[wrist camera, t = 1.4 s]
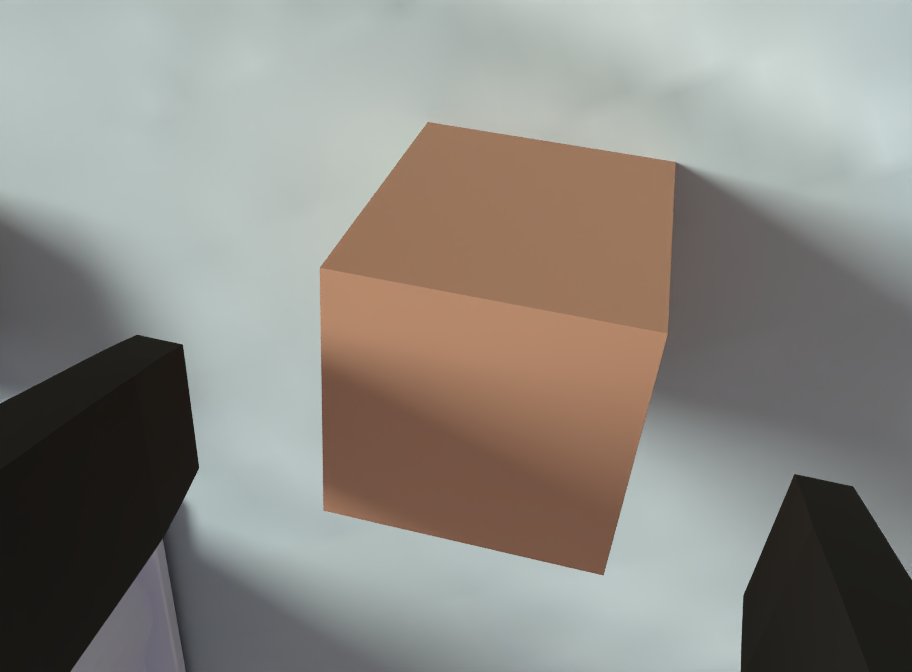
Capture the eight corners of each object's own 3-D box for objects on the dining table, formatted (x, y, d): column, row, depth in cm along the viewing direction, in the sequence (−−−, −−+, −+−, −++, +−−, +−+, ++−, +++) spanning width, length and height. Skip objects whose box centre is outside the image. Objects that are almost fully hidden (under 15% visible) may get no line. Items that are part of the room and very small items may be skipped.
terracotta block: (626, 364, 16) (603, 575, 12) (415, 324, 16) (323, 510, 12) (675, 161, 13) (668, 333, 9) (428, 121, 14) (320, 267, 10)
